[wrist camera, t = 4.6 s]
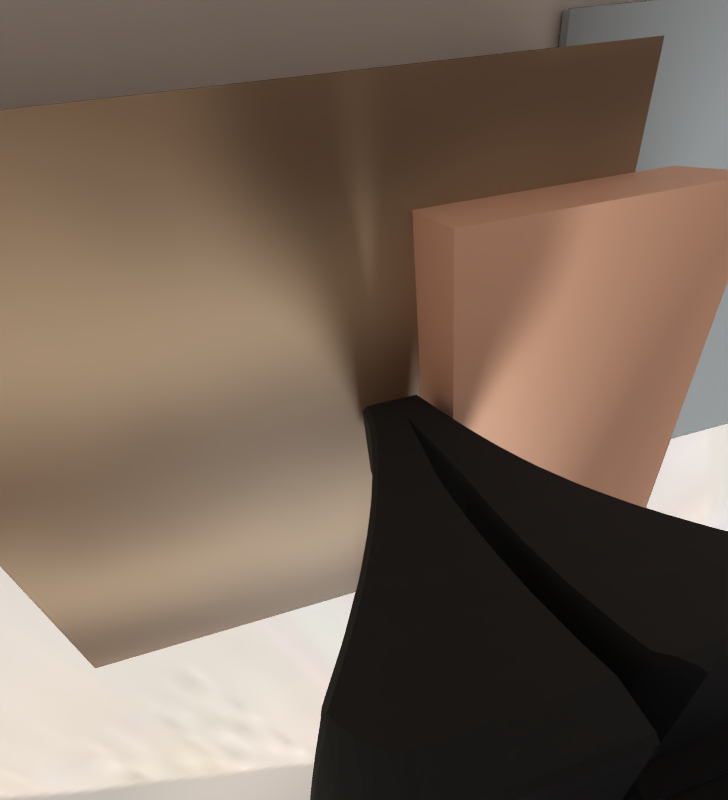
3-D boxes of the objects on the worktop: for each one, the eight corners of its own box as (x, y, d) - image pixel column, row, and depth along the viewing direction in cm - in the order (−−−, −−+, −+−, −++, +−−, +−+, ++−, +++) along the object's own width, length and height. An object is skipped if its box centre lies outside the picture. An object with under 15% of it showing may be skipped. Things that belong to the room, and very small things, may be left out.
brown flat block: (502, 462, 19) (557, 532, 16) (123, 562, 17) (95, 668, 13) (539, 63, 11) (664, 34, 8) (-156, 145, 9) (-384, 152, 6)
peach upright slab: (596, 470, 14) (643, 514, 13) (426, 517, 13) (452, 571, 12) (674, 165, 9) (767, 172, 8) (412, 210, 8) (453, 228, 7)
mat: (732, 417, 21) (738, 420, 21) (510, 476, 20) (514, 481, 19) (932, -26, 13) (946, -29, 12) (562, 10, 11) (570, 8, 11)
